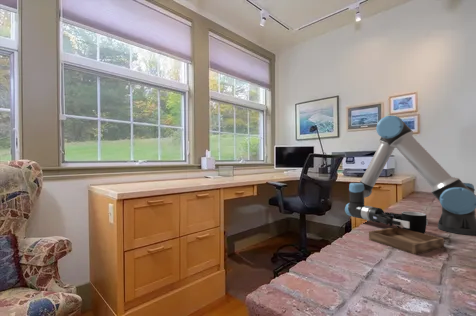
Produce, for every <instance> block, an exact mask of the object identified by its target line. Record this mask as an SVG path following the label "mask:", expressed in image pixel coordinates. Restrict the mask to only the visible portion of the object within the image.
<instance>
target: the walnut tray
mask: <svg viewBox="0 0 476 316" xmlns="http://www.w3.org/2000/svg"><path fill="white" fill-rule="evenodd" d="M402 228H403V227H401V228H398V227H397V226H392V227H388V228H383V229H376V230H370V231H368V240H369V241H372V242H374V243H378V244H381V245H384V246H387V247H391V248H393V249H397V250H399V251H403V252H405V253H406V252H407V253H409V254H412V255H415V256H417V255H420V254H424V253H427V252H431V251H435V250H440V249H443V248H445V240H444V237H439V236H436V235H431V234H427V233H425V234H423V233H419V232H415V231H411V230H407V229H402Z"/></svg>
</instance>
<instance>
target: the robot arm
mask: <svg viewBox="0 0 476 316" xmlns="http://www.w3.org/2000/svg"><path fill="white" fill-rule="evenodd" d="M375 129H376V133H377V135H378V136H379V137H380V139H379V145H378V147H377V149H376V151H375V153H374V155H373V156H372V158H371V160H370V162H369V165H368V166H367V168H366V170H365V171H364V173H363V176H362V177H361V179H360V181H359V182H349V184H348V185H349V188H348V191H349V193H348V195H349V196H348V197H349V202H348V203H347V204H345V207H344V212H345V214H346V215H348V217H352V218H355V219H357V218H358V219H362V220H366V221H367V222H375V223H377V224H380V223H382V224H383V225H387V226H388V225H389V227H394V226H395V227H397V226H399V227H401V228H403V227H405V228H410V222H408V221H403V220H402V218H401V217H398V218H397V219H395V217H396V216H399V215H402V213H394V212H388V211H387V212H386V211H384V210H383V209H382V208H381V207H374V206H371V205H365V198H369V196H370V195H372V193H373V188H374V186H375V184H376V183H377V181H378V179H379V177H380V175H381V174H382V172H383V171H384V168H385V166H386V165H387V162H388V160H389V159H390V157H391V155H392V154H393V152H394V150H395V149H396V150H398V151H399V152H400V154H401V155H402V156H403V157H404V158H405V159H406V160H407V162H408V163H409V164H411V166H412V167H413V168H414V169H415V170H416V171H417V173H418V174H419V175H420V176H421V177H422V178H423V179H424V180H425V182H426V183H427V184H428V185H429V186H430V187H431V189H430V192H431V193H432V195H434V197H435V198H436V199H437V200H438V201H439V203H440V206H441V214H440V217H439V219H438V222H437V228H438V229H439V230H441V231H444V232H449V233H453V234H458V235H465V236H466V235H467V236H476V194H475V191H476V188H475V185H474V184H473V183H470V182H469V183H468V182H463V181H462V180H461V179H460V178H459V177H453V176H452V175H450V174H449V173H448V172H447V170H446V169H445V168H444V167H443V166H442V165H441V164H440V163H439V162H438V161H437V160H436V159H435V158H434V157H433V156H432V155H431V154H430V153H429V152H428V151H427V150H426V148H424V146H422V144H420V142H419V141H417V139H416V138H414V132H413V130H412V129H411V128H410V127H409V126H408V125H407V124H406V122H405V121H403V120H402V118H400V116H397V115H386V116H384V117H382V118H380V120H378V121H377V124H376V128H375ZM428 225H429V224H428V219H427V220H426V226H428Z"/></svg>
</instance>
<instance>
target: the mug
mask: <svg viewBox="0 0 476 316" xmlns="http://www.w3.org/2000/svg"><path fill="white" fill-rule="evenodd" d="M401 214H402V215H399V216H396V217H395V219H397V218H398V217H401V218H402V220H403V221H408V222H410V228H405V227H400V226H396V227H398V228H402V229H407V230H411V231H415V232H419V233H423V234H426V229H427V225H426V220H427V221H428V218H427V213H425V212H424V213H423V212H419V211H408V210H407V211H404V210H403V211H401Z"/></svg>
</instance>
